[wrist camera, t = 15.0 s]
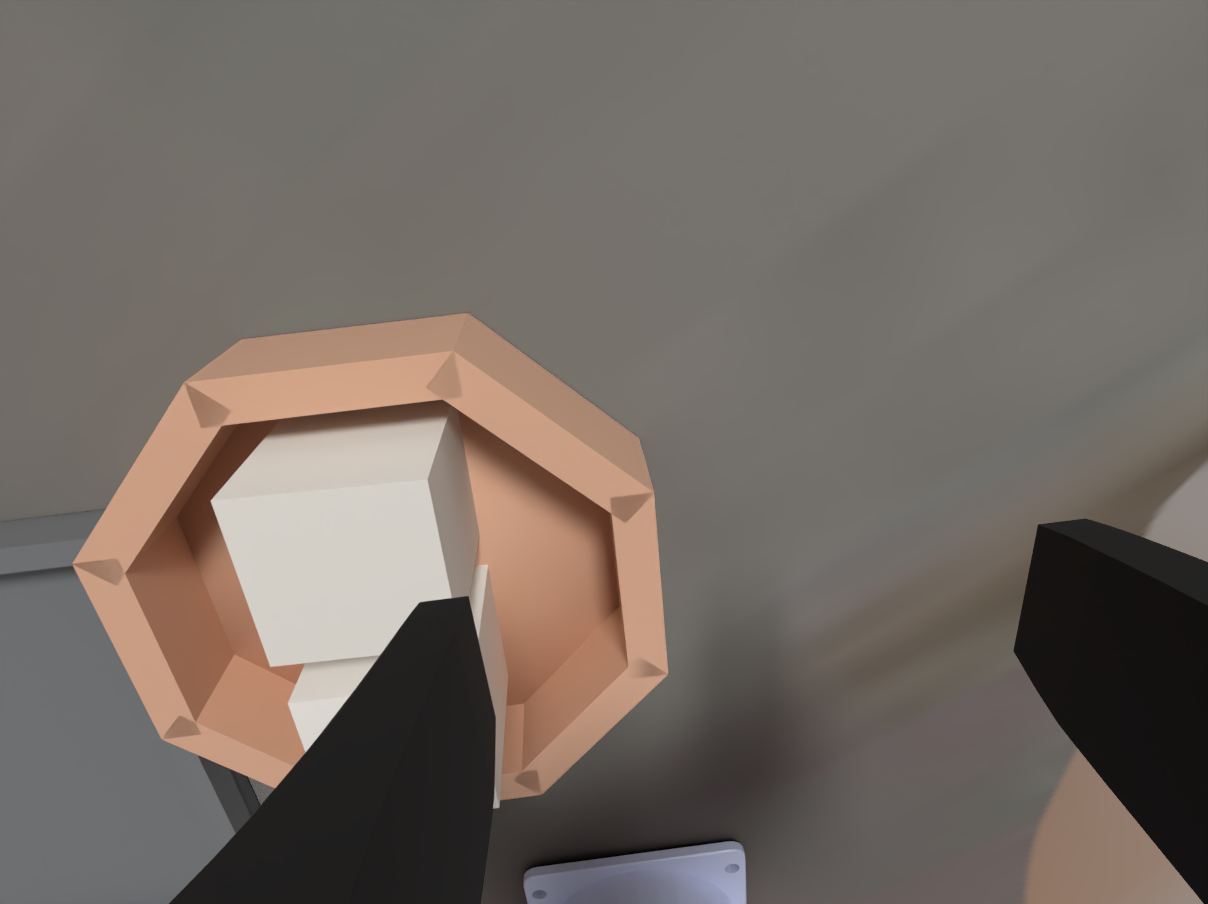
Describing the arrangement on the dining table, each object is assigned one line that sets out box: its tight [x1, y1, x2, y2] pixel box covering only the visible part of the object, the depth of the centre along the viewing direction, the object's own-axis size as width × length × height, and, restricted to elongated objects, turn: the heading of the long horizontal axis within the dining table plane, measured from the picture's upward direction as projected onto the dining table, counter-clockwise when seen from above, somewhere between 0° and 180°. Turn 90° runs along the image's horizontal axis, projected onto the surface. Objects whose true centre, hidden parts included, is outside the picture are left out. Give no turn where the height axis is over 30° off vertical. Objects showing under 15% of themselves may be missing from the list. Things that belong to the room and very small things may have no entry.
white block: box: [288, 565, 508, 809], centre depth 18 cm, size 4×4×4 cm
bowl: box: [72, 313, 668, 800], centre depth 18 cm, size 13×13×3 cm
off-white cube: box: [211, 399, 480, 667], centre depth 16 cm, size 4×4×4 cm
